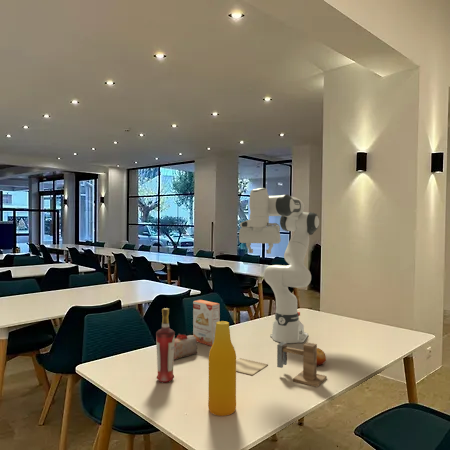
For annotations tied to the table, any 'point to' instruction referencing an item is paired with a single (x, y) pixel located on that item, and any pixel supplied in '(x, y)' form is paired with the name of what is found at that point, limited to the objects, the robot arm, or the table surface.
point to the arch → (281, 355)
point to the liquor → (165, 349)
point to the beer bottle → (222, 372)
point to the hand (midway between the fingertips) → (259, 253)
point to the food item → (184, 346)
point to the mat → (249, 366)
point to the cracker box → (205, 321)
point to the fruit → (320, 357)
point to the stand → (307, 365)
